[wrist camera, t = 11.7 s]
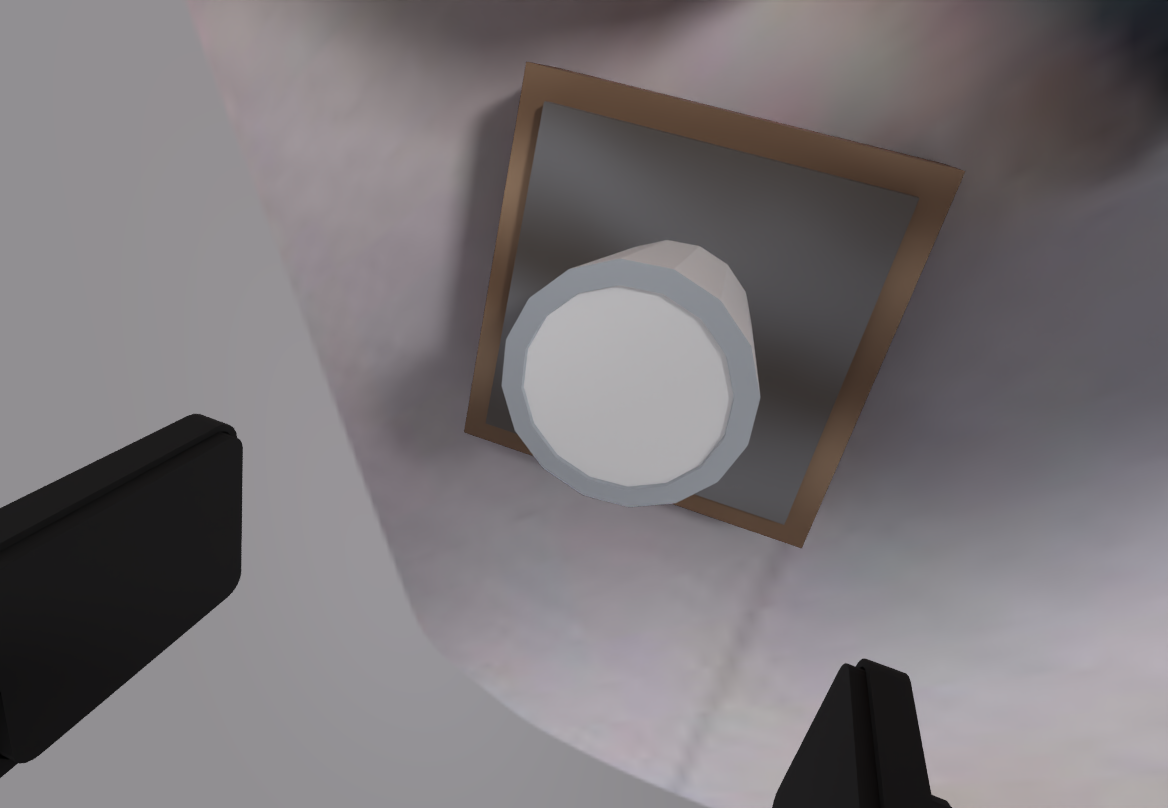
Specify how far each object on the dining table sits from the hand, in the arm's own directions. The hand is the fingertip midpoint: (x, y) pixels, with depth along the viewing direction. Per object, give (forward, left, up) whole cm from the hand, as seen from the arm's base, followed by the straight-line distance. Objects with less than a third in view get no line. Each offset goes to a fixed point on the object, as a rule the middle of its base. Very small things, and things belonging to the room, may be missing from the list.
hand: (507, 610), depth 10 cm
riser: (0, 0, -20) cm, 20 cm away
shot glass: (0, 0, -16) cm, 16 cm away
